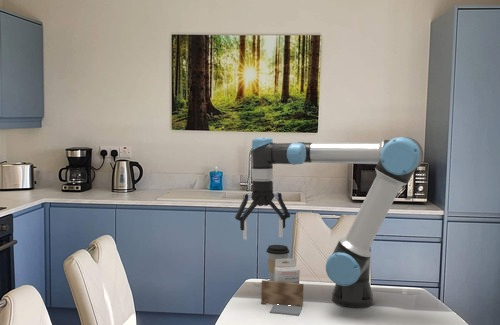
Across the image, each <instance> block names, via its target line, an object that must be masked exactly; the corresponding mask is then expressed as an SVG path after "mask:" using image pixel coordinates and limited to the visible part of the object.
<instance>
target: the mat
mask: <svg viewBox="0 0 500 325" xmlns="http://www.w3.org/2000/svg"><path fill="white" fill-rule="evenodd" d="M302 309H303V307H298V306H288V305H277V304H272V307H271V309H270V310H269V313H270V314H278V315H285V314H286V315H289V316H296V317H299V316H300V314H301V312H302Z"/></svg>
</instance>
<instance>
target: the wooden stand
mask: <svg viewBox="0 0 500 325" xmlns="http://www.w3.org/2000/svg"><path fill="white" fill-rule="evenodd" d="M304 286H305V285H304V283H299V284H298V283H287V282H275V281H270V280H264V279H263V280H261V295H260V304H261V305H274V304H279V305H291V306H298V307H302V308H303V306H304Z"/></svg>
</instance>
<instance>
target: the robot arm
mask: <svg viewBox="0 0 500 325" xmlns="http://www.w3.org/2000/svg"><path fill="white" fill-rule="evenodd" d="M423 152H424V151H423V148H422V146H421V144H420V143H419V141H417V140H415V139H414V138H411V137H406V136H401V137H399V136H398V137H394V138H392V139H383V140H382V141H381V142H304V141H298V142H283V143H282V142H281V143H277V142H273V138H271V137H254V138H253V139H252V141H251V174H252V175H251V176H252V177H251V179H252V182H251V186H252V187H251V189H252V190H251V194H247V193H244V194H243V195H242V196H243V198H242V199H243V200H242V201H241V204H240V206H239V208H238V210H237V212H236V214H235V217H234V219H235V220H236V221H239V227H240V230H241V231H242V239H243V240H245V241H247V238H248V235H247V233H248V232H247V230H248V229H247V226H248V225H247V224H248V223H247V220H246V219H247V218H248V217H249V215H250V214H251V213H252V212H253V211H254V209H255V208H257V207H258V206H259V207H262V206H265V207H266V206H269V207H271V209H273V211H274V212H275V213H276V215H277V216H278V217H279V219H278V237H279V238H283V239H284V234H283V233H284V231H283V230H284V229H285V228H286V220H287V219H289V218H290V217H291V215H290V212H289V210H288V208H287V206H286V204H285V202H284V200H283V197H282V196H283V195H282V193H281V192H276V193H274V181H273V179H274V178H273V177H274V174H273V172H274V171H273V168H274V167H273V166H274V165H293V166H294V165H303V164H305V163H313V164H315V163H319V164H322V163H323V164H356V165H357V164H358V165H359V164H360V165H361V164H363V165H364V164H365V165H376V166H375V167H374V169H375V173H376V176H375V178H374V180H373V182H372V184H371V187H370V188H369V190H368V192H367V194H366V196H365V198H364V199H363V202H362V204H361V206H360V208H359V210H358V212H357V213H356V216H355V218H354V220H353V222H352V224H351V227H350V228H349V230H348V232H347V234H346V236H345V237H341V238H339V240H338V242H337V244H336V246H335V247H334V249H333V252H332V253H331V254H330V256H328V258H327V260H326V263H325V272H326V274H327V276H328V278H329V279H330V280H331V281H332V282H333V283H334V284H335V285H334V288H333V290H332V292H331V301H332V302H333V303H334V304H335V305H338V306H341V307H346V308H354V309H355V308H356V309H357V308H358V309H359V308H360V309H361V308H368V307H371V306H373V305H374V298H375V296H374V294H373V290H372V286H371V283H370V282H371V281H370V277H371V276H370V273H371V256H372V254H371V251H372V249H371V247H372V246H371V245H372V244H373V242H374V240H375V238H376V236H377V235H378V232H379V230H380V228H381V226H382V224H383V223H384V220H385V218H386V216H387V215H388V212H389V211H390V208H391V207H392V204H393V203H394V201H395V198H396V197H397V195H398V193H399V191H400V189H401V187H403V186H406V185H408V184H409V182H410V181H411V178H412V177H413V175H414V172H415V171H416V169H417V168H418V167H419V166H420V165H421V163H422V161H423V158H424V153H423ZM273 164H274V165H273ZM274 197H275V199H276V200H277V202H278V204H279V206H280V209H281V210H282V211H283V213H282V211H281V210H280V209H279V208H278V206H277V205H276V204H275V203H274V202H273V200H274ZM250 199H252V202H251V203H250V204H249V206H248V207H247V209H246V210H245V208H246V205H247V204H248V201H250ZM244 210H245V212H244Z"/></svg>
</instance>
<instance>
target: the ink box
mask: <svg viewBox="0 0 500 325" xmlns="http://www.w3.org/2000/svg"><path fill="white" fill-rule="evenodd" d="M285 261H287V262H288V263H282V262H285ZM300 272H301V271H300V269H299V268H298V267H297V259H296V258H288V259H276V260H275V273H274V281H275V282H287V283H298V284H300V275H301V273H300Z"/></svg>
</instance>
